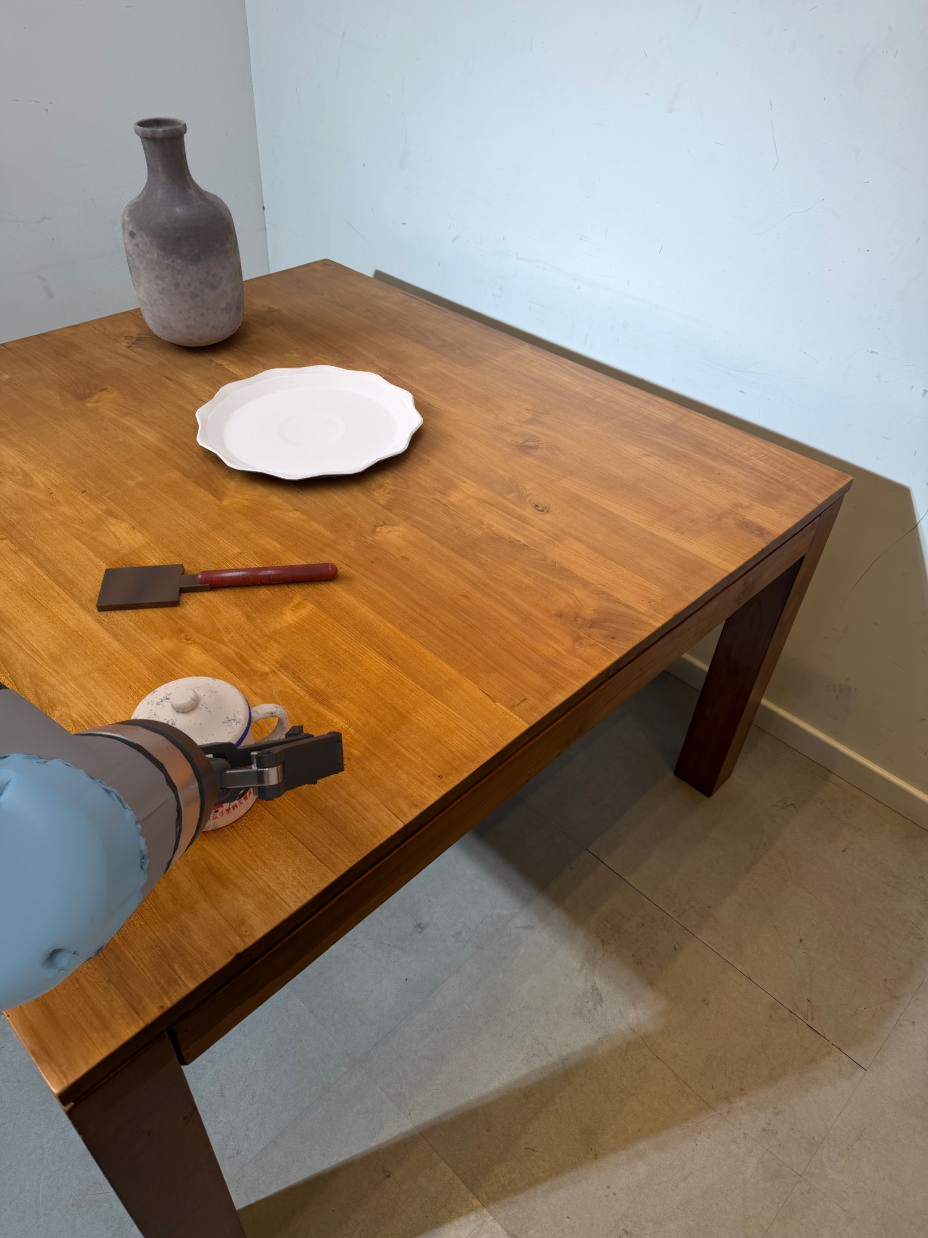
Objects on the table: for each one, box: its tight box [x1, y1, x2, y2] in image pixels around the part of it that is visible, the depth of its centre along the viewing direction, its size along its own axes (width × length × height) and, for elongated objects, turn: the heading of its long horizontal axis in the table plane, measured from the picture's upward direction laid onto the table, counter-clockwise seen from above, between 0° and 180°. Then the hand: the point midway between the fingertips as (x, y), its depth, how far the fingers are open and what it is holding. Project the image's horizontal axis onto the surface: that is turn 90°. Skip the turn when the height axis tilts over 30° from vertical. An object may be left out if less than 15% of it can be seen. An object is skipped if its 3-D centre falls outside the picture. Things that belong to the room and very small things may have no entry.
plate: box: [195, 364, 424, 482], centre depth 111 cm, size 29×29×2 cm
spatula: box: [95, 562, 339, 612], centre depth 88 cm, size 24×6×2 cm, turn 99°
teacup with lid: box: [130, 676, 290, 832], centre depth 66 cm, size 12×9×12 cm
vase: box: [120, 116, 245, 348], centre depth 121 cm, size 16×16×30 cm
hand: (203, 752), depth 60 cm, fingers open, 13 cm apart
